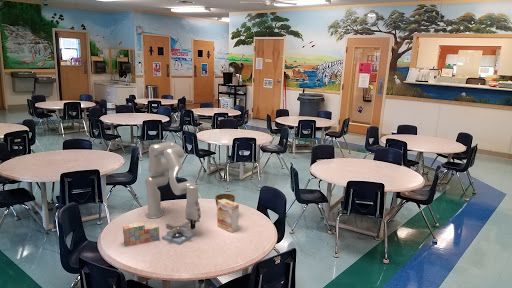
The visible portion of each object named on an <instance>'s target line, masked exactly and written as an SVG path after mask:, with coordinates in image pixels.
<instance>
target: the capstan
mask: <svg viewBox="0 0 512 288" xmlns="http://www.w3.org/2000/svg"><path fill="white" fill-rule="evenodd" d="M188 227H190V223H189V221H186V222H185V221H184V222H183V223H182V224H180V225H175V224H171V223H166V224H165V229H168V231H167V232H166V234H167V237H171V236H172V237H174V238H178V237H181V236H183V234H187V235H191V232H192V229H189V228H188Z"/></svg>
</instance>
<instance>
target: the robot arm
mask: <svg viewBox="0 0 512 288" xmlns="http://www.w3.org/2000/svg"><path fill="white" fill-rule="evenodd" d="M148 155H149V159H148V167H147V168H148V169H147V170H148V174H149V175H148V176H146V177H145V178H144V179H145V180H144V185H145V188H146V197H147V199H146V200H147V201H146V202H147V212H146V213H145V217H146V218H147V219H158V218H161V217H162V216H163V215H164V212H163V211H164V210H165V209H166V207H165V206H163V207H161V206H162V205H161V192H160V190H159V189H158V187H163V186H165V185H167V184H168V183H169V185H170V189H171V191H172V192H173V193H174V195H176V196H181V195H186V204H185V210H184V215H185V216H184V217H185V219H186V220H187V221H188V222H189V227H190V230H191V231H192V230H195V229H196V223H199V222H200V219H201V218H202V213H201V206H200V202H199V187H198V185H197V184H195V183H193V182H192V181H190V180H187V181H186V180H185V181H183V182H177V179H176V176H177V173H179V172H181V170H182V169H183V164H182V162H181V160H180V159H182V158H184V157H185V151H184V149H183V148H182V146H180V145H179V144H177V143H175V142H173V141H167V142H160V143H156V144H155V143H154V144H153V143H152V144H150V146H149V148H148ZM162 156H163V157H164V159H162Z"/></svg>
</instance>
